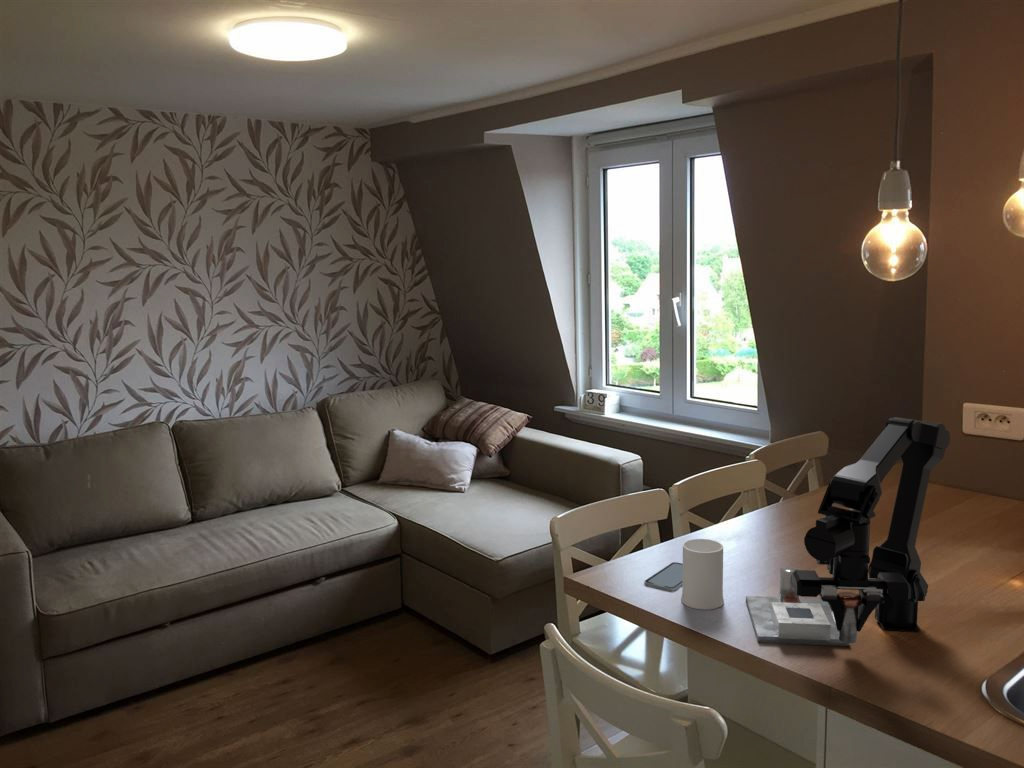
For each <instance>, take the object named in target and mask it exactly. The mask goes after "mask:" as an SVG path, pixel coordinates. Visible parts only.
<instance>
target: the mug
mask: <svg viewBox="0 0 1024 768" xmlns="http://www.w3.org/2000/svg"><path fill="white" fill-rule="evenodd" d="M682 564H683V585H682V586H681V587H682V591H681V592H682V593H681V599H680V600H681V603H682V604H683V605H685V606H687V607H689V608H691V609H695V610H703V611H704V610H705V611H707V610H710V611H711V610H716V609H719V608H721V607H722V606H723V605H724V603H725V599H724V589H723V588H724V545H723V544H722V543H721V542H718V541H717V540H713V539H708V538H707V539H706V538H695V539H688V540H686V541H684V542H683V543H682Z"/></svg>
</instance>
